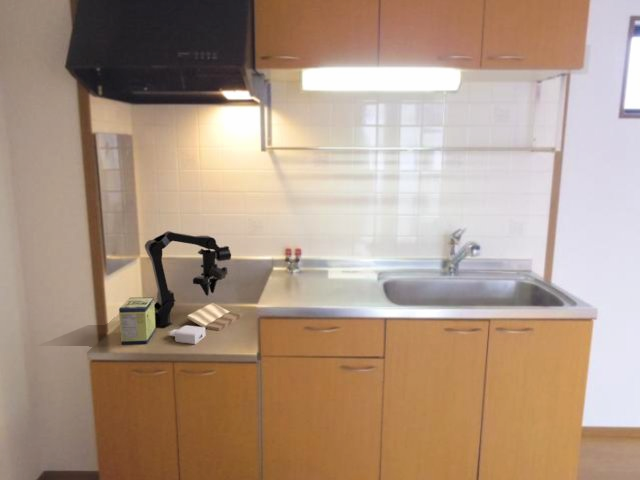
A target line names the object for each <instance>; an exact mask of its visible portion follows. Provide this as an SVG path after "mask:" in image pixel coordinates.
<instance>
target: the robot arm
mask: <svg viewBox="0 0 640 480" xmlns="http://www.w3.org/2000/svg"><path fill="white" fill-rule="evenodd" d="M172 242H178V243H183V244H190V245H196V246H199V247H201V249H199V250H198V252H197V254H199V255H201V257H202V264H200V268H202V273H201V275H197V276H195V277H193V279H192V284H194V285H199V286H200V288H201V289H202V290H203V293H204V294H205V296H209V294H210V293H211V294H214V292H215V289H216V286H217V283H218V282H219V281H221V280H223V279H225V278H226V277H227V275H228V267H226V266H223V267H220V268H219V267H218V263H216V261H217V262H222V261H223V262H224V261H230V260H231V259H232V253H231V250H230V247H229V246H228V245H226V246H219V245H218V244H217V241H216V239H215V238H214V237H213V236H209V235H190V234H186V233H185V234H184V233H179V232H174V231H165V232H164V233H163V234H161V235H158V236H156V237H154V238H153V239H149V240H148V241H145V244H144V248H145V251H146V254H147V256H148V257H149V259H150V261H151V266H152V270H153V274H154V278H155V283H156V287H157V294H156V298H157V300H156V302H154V309H155V328H160V329H165V328H167V327H169V326H171V325H173V322H171V318H170V317H171V316H170V315H171V311H172V309H173V308H174V306H175V302H176V299H175V294H174V292H173V291H171V290H170V289H169V288H168V283H167V279H166V274H165V270H164V265H163V261H162V259H163V250H164V249H165V248H167V246H168V245H170V243H172ZM209 291H210V292H209Z"/></svg>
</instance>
